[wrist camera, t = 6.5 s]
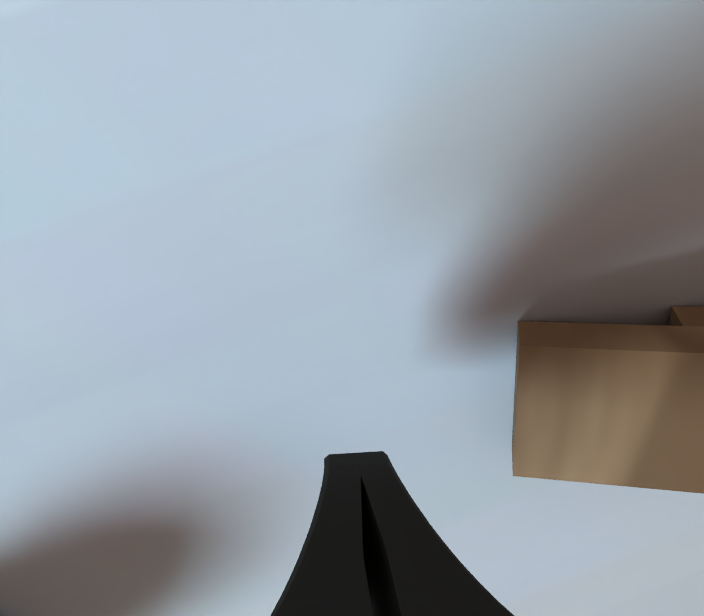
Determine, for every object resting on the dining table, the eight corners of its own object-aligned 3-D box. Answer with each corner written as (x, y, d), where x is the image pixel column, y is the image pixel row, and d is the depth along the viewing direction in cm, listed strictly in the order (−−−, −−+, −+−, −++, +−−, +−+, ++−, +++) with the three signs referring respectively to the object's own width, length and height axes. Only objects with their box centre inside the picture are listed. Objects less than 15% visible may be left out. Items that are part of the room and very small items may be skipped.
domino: (518, 321, 16) (806, 329, 14) (512, 444, 18) (765, 464, 16) (519, 346, 15) (834, 358, 13) (512, 475, 17) (787, 501, 15)
